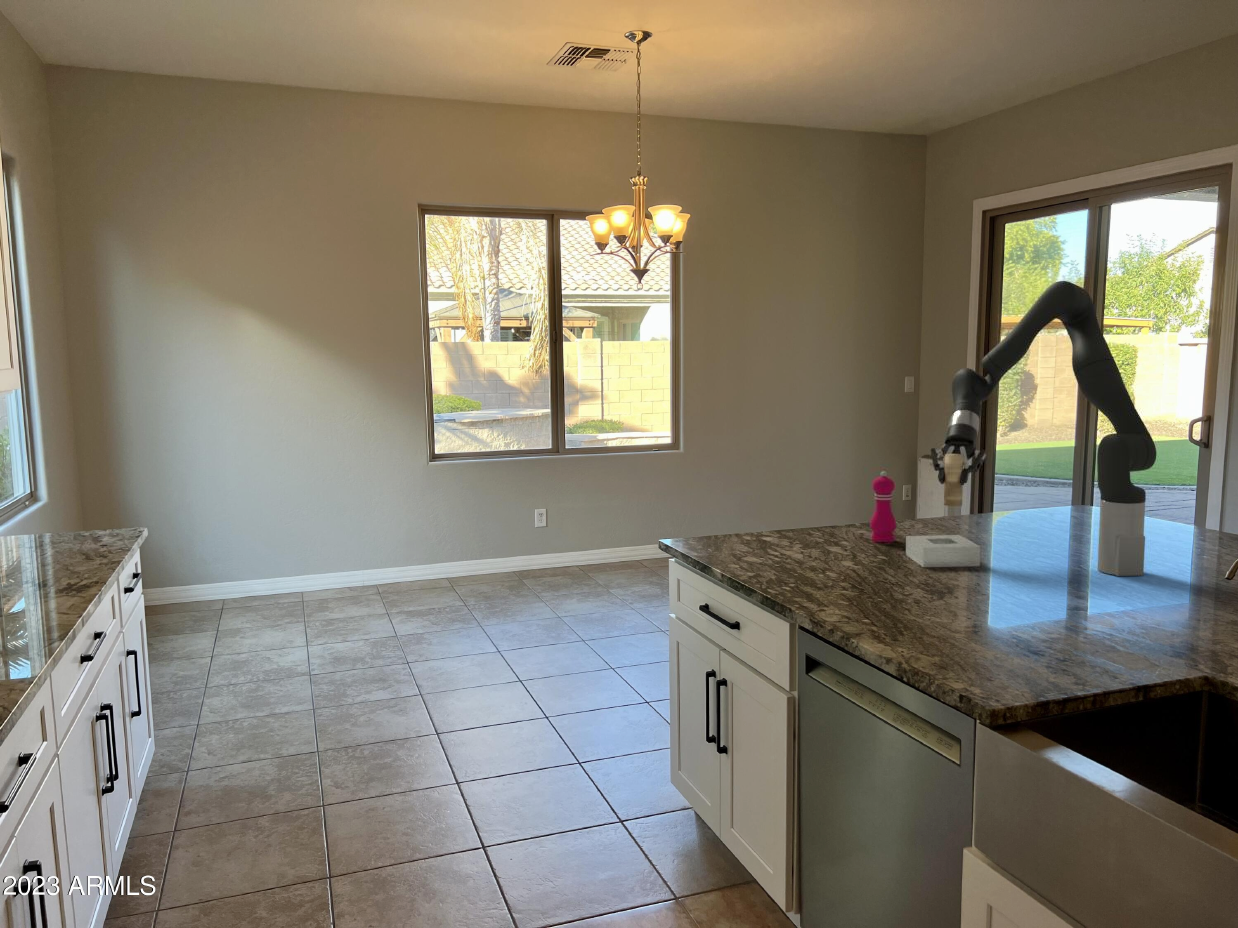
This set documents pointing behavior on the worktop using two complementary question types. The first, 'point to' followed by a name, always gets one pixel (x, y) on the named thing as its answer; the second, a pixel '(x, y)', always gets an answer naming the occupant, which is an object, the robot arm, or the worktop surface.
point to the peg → (953, 480)
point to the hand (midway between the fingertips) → (951, 482)
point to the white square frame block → (942, 551)
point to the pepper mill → (883, 510)
